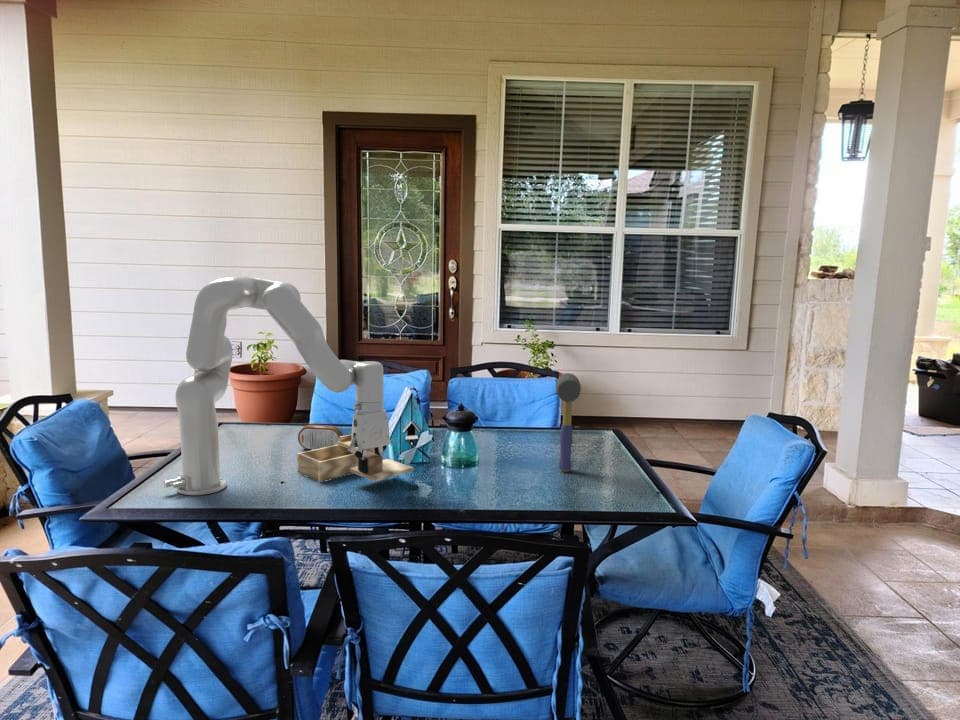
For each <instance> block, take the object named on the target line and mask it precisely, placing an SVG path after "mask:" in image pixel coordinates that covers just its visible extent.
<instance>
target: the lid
mask: <svg viewBox="0 0 960 720" xmlns="http://www.w3.org/2000/svg"><path fill="white" fill-rule="evenodd" d="M366 459H367V470H368V472H367V473H366V474H364V473H362V472H360V471H359V463H358V466H357V467H353V468H350V472H352V473H354V474H353V475H357V476H359V477H362V478H365V479H367V480H370V481H372V482H378V481H382V480H386V479H390V478H394V477H397V476H400V475H404V474H407V473H411V472H413V471H414V467H412V466H410V465H407V464H404V463H401V462H398V461H395V460H393V459H389V458H385V459H383V455H382V456H380V455H378V454H375V453H372V452H367V453H366Z"/></svg>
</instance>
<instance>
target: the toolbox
mask: <svg viewBox="0 0 960 720" xmlns="http://www.w3.org/2000/svg"><path fill="white" fill-rule="evenodd" d="M351 442H352V433H350V434H347V435H343V436H340V437H339V441H337V445H333V446H329V447H324V448H320V449H315V450H307V451H306V450H305V451H303V452H297V453H296V455H297V461H296V463H297V473H298V472H299V473H301V474H303V475H302V476H304V475H306V476H308V477H310V478H312V479H311V480H313V479H314V480H313V481H315V480H317V481H319V482H321V481H325V480H329V479H333V478H336V479H338V478H337V477H340V476H344V475H348V474H352V472H350V468H353V467H357V466H358V458H357V457H356V456H355V455H354V454H353V453H351V452H349V451H348V448H349V446H350V444H351ZM357 448H358V447H356V448H355V449H356V450H357ZM367 452H372V453H374V448H373V449H368V450H367ZM299 473H298V474H299ZM301 474H300V475H301ZM352 475H353V474H352ZM306 476H305V477H306ZM348 476H349V475H348ZM308 477H307V478H308ZM344 477H345V476H344ZM310 478H309V479H310ZM340 478H341V477H340ZM333 480H334V479H333ZM317 481H316V482H317ZM329 481H330V480H329ZM319 482H318V483H319ZM325 482H326V481H325ZM321 483H322V482H321Z"/></svg>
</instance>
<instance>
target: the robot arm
mask: <svg viewBox="0 0 960 720" xmlns="http://www.w3.org/2000/svg"><path fill="white" fill-rule="evenodd" d="M301 299H302V298H301V294H300V291H299V290H298V288H297V287H296V286H295V285H293V284H291V283H289V282H288V283H287V282H281V281H275V280H268V279H263V278H258V277H253V276H252V277H250V276H244V275H243V276H242V275H241V276H228V277H223V278H218V279H214V280H213V281H210V282H208V283H206V284H205V285H204V286H203V287H202V288H201V289H200V291H199V292H198V294H197V296H196V299H195V300H194V301H195V302H194V306H193V307H194V308H193V313H192V320H191V324H190V329H189V334H188V340H187V346H186V351H185V352H186V353H185V355H186V357H185V358H186V361H187V363H188V366H190V368H192V369H193V370H194V373H193V374H191V375H189V376H188V377H185V378H184V379H182V380H181V381H180V382H179V384H178V387H177V388H176V390H175V391H176V392H175V404H176V409H177V413H178V420H179V435H180V452H181V455H180V456H181V470H182V471H181V472H179V473H178V476H175V478H174V479H168V480H164V481H163V488H165V489H166V488H171V487H172V488H173V489H176V491H177V493H179V494H181V495H186V496H204V495H209V494H214V493H217V492H220V491H222V490H223V489H225V488H226V487H227V480H226V479H225V478H222V477H221V469H220V468H221V465H220V464H221V463H220V442H219V441H220V440H219V439H220V438H219V436H220V435H219V424H218V423H219V422H218V415H217V411H216V406H215V404H216V402H218V401H219V400H220V399H222V398H223V397H224V395H225V393H226V392H227V389H228V384H229V379H230V372H231V367H232V360H233V355H234V352H233V351H234V350H233V345H232V343H231V341H230V339H229V338H228V337H227V336H226V335H225V333H226V328H227V316H228V315H227V314H228V312H229V311H231V310H236V309H243V308H252V309H258V310H263V311H266V312H267V313H268V314H269V315H270V316H271V318H272V319H273V320H274V322H275V323H276V324H277V325H278V326H279V327H280V328H281V329H282V331H283V332H284V333H285V334H286V336H287V337H288V338H289V339H290V340H291V341H292V343H293V344H294V345H295V347H296V350H297V351H298V353H299V354H300V356H301V357H302V359H303V361H304V362H305V363H306V366H307V367H308V368H309V370H311V372H312V374H313V375H315V377H316V378H317V379H318V380H319V381H320V383H322V385H323V386H324V387H325V388H326V389H327V390H328V391H330V392H333V393H343V392H346V391H347V390H348V389H349V388H350V387H351V386H354V387H355V404H353V405H352V409H353V410H354V413H353V416H352V425H351V434H352V442H351V444H350V446H349V448H348V451H349V452H351V453H353V454H354V455H355V456H356V457H357V458H358V463H359V471H360V472H362V473H364V474H366V473H367V472H368V470H367V459H366V453H367V450H368V449H373V448H374V453H375V454H378V455H380V456H382V457H383V455H384V452H385V450H386V449H387V447H388V446H389V445H390V444H391V443H392V440H391V438H390V426H389V418H388V414H387V413H388V412H387V410H386V409H384V366H383V364H382V363H381V362H379V361H374V360H373V361H369V360H368V361H367V360H366V361H356V360H349V359H339V358H338V357H337V355H336V354H335V353H334V352H333V350H332V349H331V347H330V346H329V344H328V342H327V341H326V339H325V334H324V331H323V328H322V326H321V324H320V322H318V321H319V320H317V318H315V317H314V315H313V314H312V313H311V312H310V310H308V308H307V307H306V306H305V304H304V303H303V302H302V301H301ZM356 447H358V448H357V450H356V449H355V448H356Z"/></svg>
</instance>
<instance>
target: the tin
mask: <svg viewBox="0 0 960 720" xmlns="http://www.w3.org/2000/svg"><path fill="white" fill-rule="evenodd" d="M297 435H298V436H297V441H298V444H299V445H300V446H301V447H302V448H303V449H304V450H307V449H320V448H324V447H329V446H333V445H337V441H339V437H340V436H344V434H343V432H342V431H341V429H340V428H338V427H337V426H334V425H327V424H326V425H325V424H306V425H304V426H303V427H302V428H301V429H300V430H299V432H298V434H297Z"/></svg>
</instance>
